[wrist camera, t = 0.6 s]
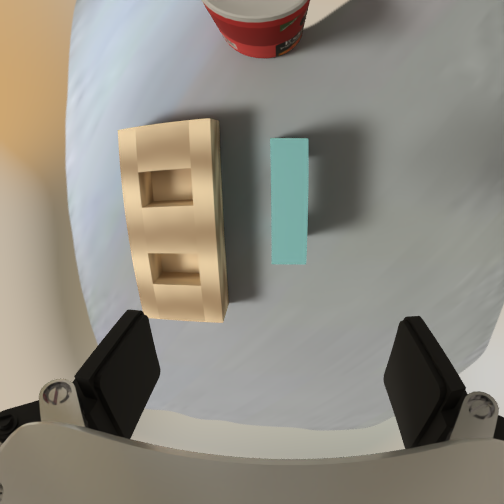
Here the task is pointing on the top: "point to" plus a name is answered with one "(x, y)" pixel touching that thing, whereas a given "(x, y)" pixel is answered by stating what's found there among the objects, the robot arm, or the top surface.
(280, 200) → the teal long block
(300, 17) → the canned food
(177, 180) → the tan slotted block
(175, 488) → the robot arm
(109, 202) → the top surface
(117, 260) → the top surface
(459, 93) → the top surface
